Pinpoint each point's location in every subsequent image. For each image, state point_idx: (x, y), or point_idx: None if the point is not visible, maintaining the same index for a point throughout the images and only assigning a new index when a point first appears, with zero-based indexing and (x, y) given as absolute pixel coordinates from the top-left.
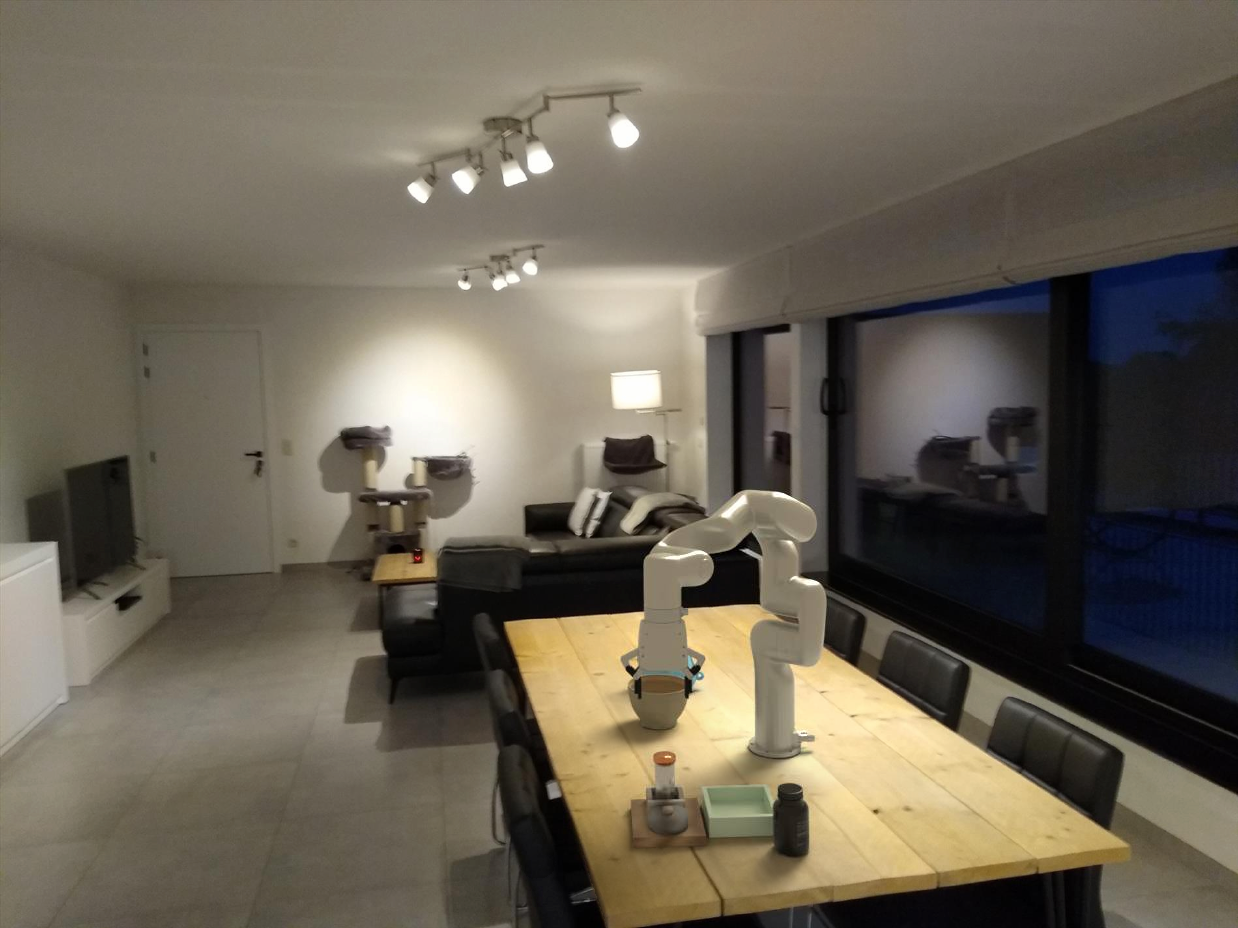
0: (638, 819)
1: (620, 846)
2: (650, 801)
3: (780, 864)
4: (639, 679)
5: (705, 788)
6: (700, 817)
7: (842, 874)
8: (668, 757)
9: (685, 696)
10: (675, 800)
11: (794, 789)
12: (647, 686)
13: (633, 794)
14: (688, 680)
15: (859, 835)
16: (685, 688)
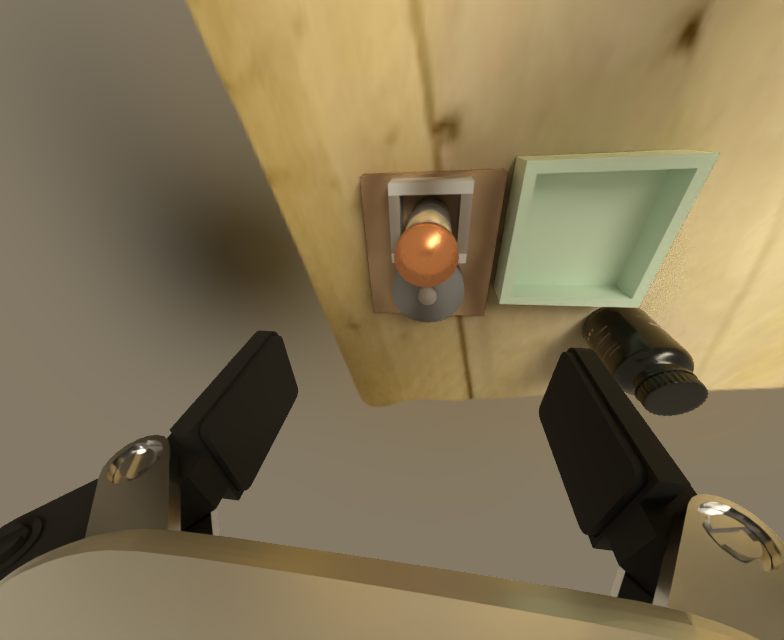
0: (379, 260)
1: (358, 299)
2: None
3: None
4: (224, 486)
5: (533, 175)
6: (490, 260)
7: None
8: (436, 269)
9: (541, 421)
10: None
11: (679, 404)
12: None
13: (365, 94)
14: (609, 544)
15: (767, 299)
16: (559, 469)
